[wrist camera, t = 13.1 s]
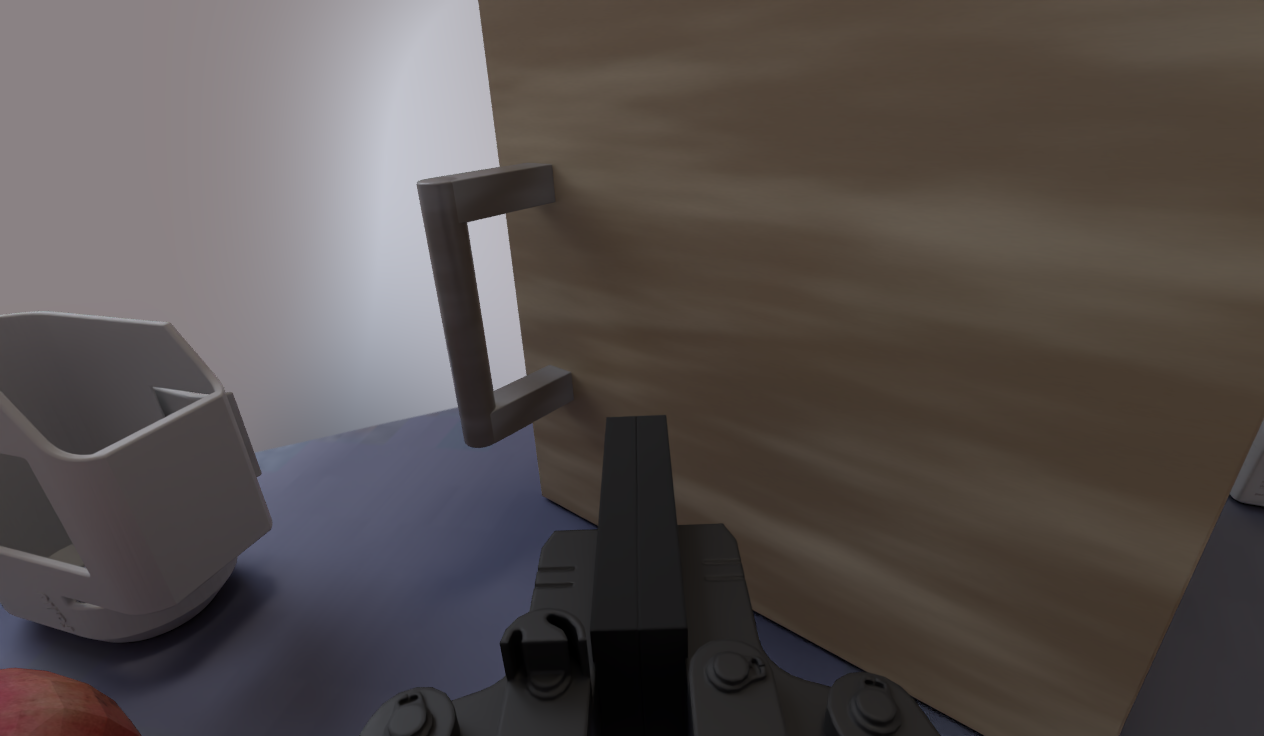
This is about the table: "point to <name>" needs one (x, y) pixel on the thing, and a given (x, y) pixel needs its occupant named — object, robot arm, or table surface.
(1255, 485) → the cosmetic box
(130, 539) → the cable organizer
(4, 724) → the fruit
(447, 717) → the robot arm
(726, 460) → the cupboard door
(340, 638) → the table surface
